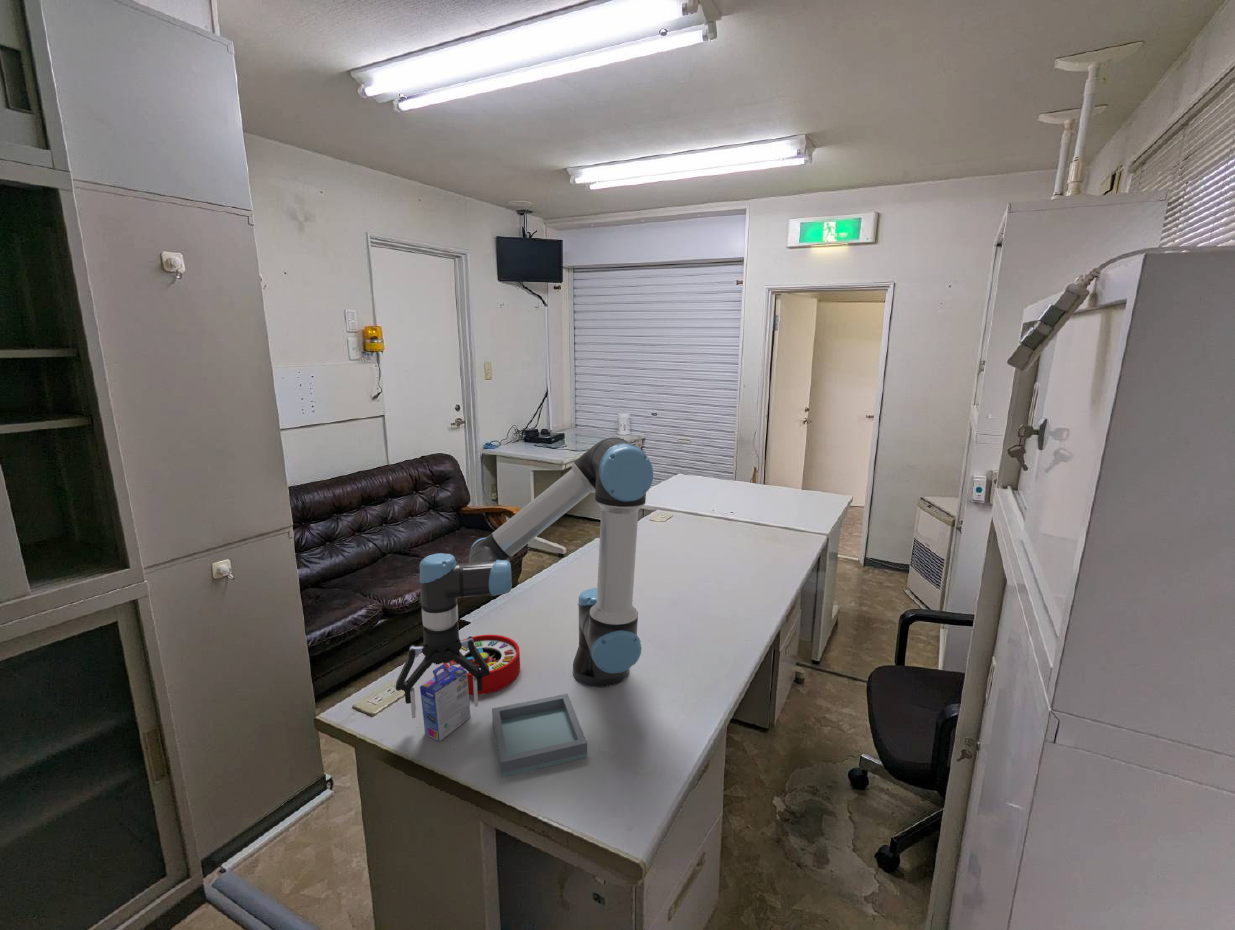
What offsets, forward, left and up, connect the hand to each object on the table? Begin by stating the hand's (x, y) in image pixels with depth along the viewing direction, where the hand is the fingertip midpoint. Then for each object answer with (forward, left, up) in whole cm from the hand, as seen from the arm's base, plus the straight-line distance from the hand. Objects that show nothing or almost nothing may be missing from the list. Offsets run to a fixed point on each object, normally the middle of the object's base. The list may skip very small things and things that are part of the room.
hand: (445, 708), depth 125 cm
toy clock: (-10, -20, -5) cm, 22 cm away
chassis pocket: (-19, +11, -4) cm, 23 cm away
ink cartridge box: (0, 0, -5) cm, 5 cm away
